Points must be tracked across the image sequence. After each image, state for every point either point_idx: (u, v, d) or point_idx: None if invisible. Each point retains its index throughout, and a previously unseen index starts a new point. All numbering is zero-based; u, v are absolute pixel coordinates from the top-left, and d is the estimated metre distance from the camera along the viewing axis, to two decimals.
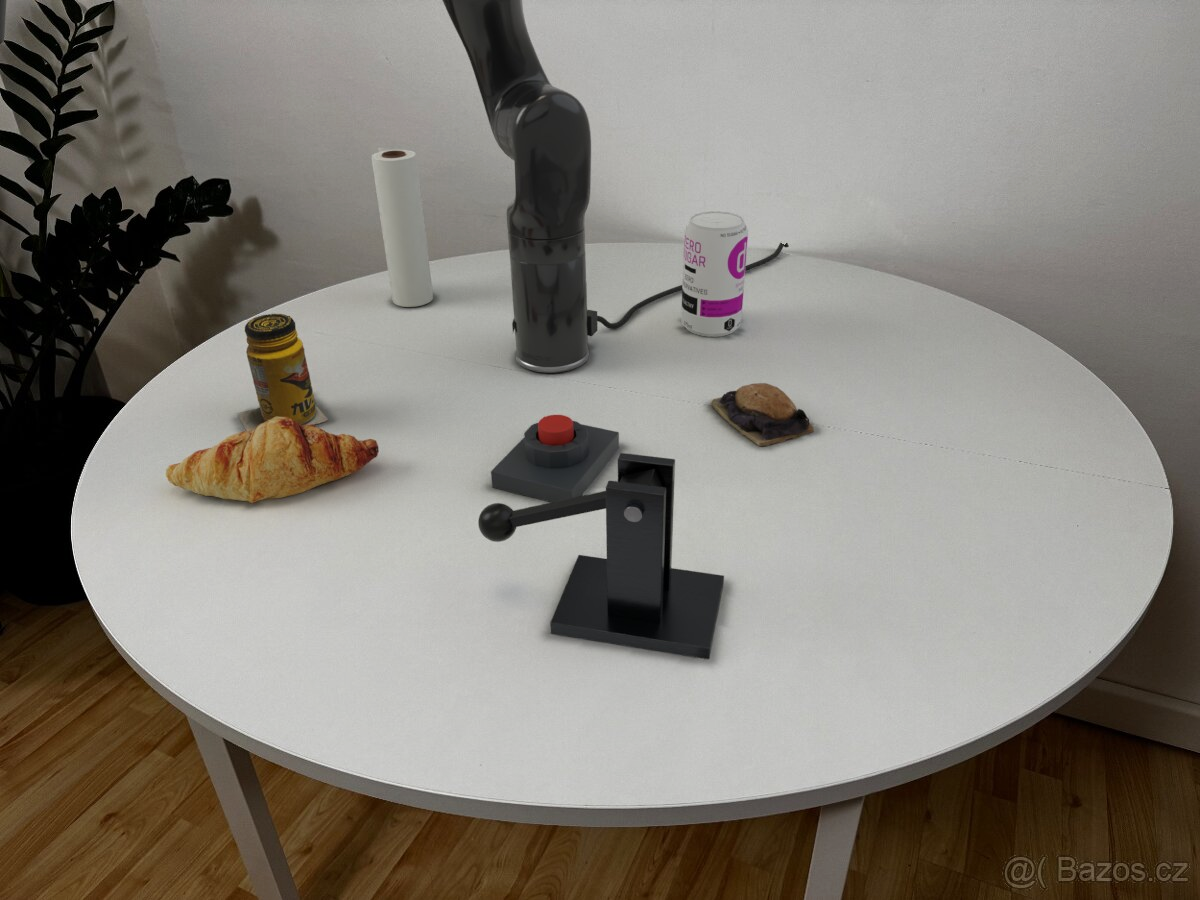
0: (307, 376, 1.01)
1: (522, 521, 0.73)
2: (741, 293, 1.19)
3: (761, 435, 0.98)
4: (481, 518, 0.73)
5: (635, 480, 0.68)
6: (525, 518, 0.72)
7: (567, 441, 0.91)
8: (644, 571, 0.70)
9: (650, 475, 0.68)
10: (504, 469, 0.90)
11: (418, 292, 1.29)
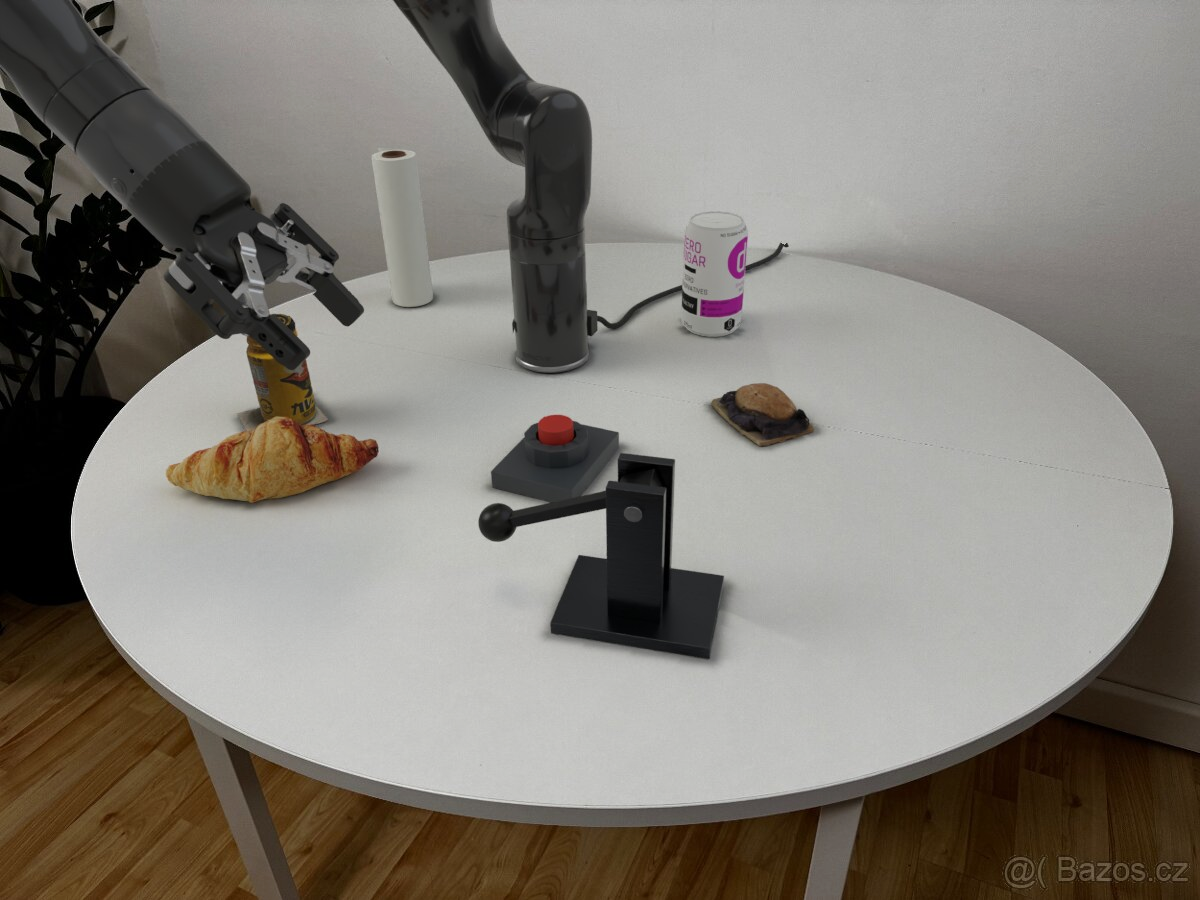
0: (307, 376, 1.01)
1: (522, 521, 0.73)
2: (741, 293, 1.19)
3: (761, 435, 0.98)
4: (481, 518, 0.73)
5: (635, 480, 0.68)
6: (525, 518, 0.72)
7: (567, 441, 0.91)
8: (644, 571, 0.70)
9: (650, 475, 0.68)
10: (504, 469, 0.90)
11: (418, 292, 1.29)
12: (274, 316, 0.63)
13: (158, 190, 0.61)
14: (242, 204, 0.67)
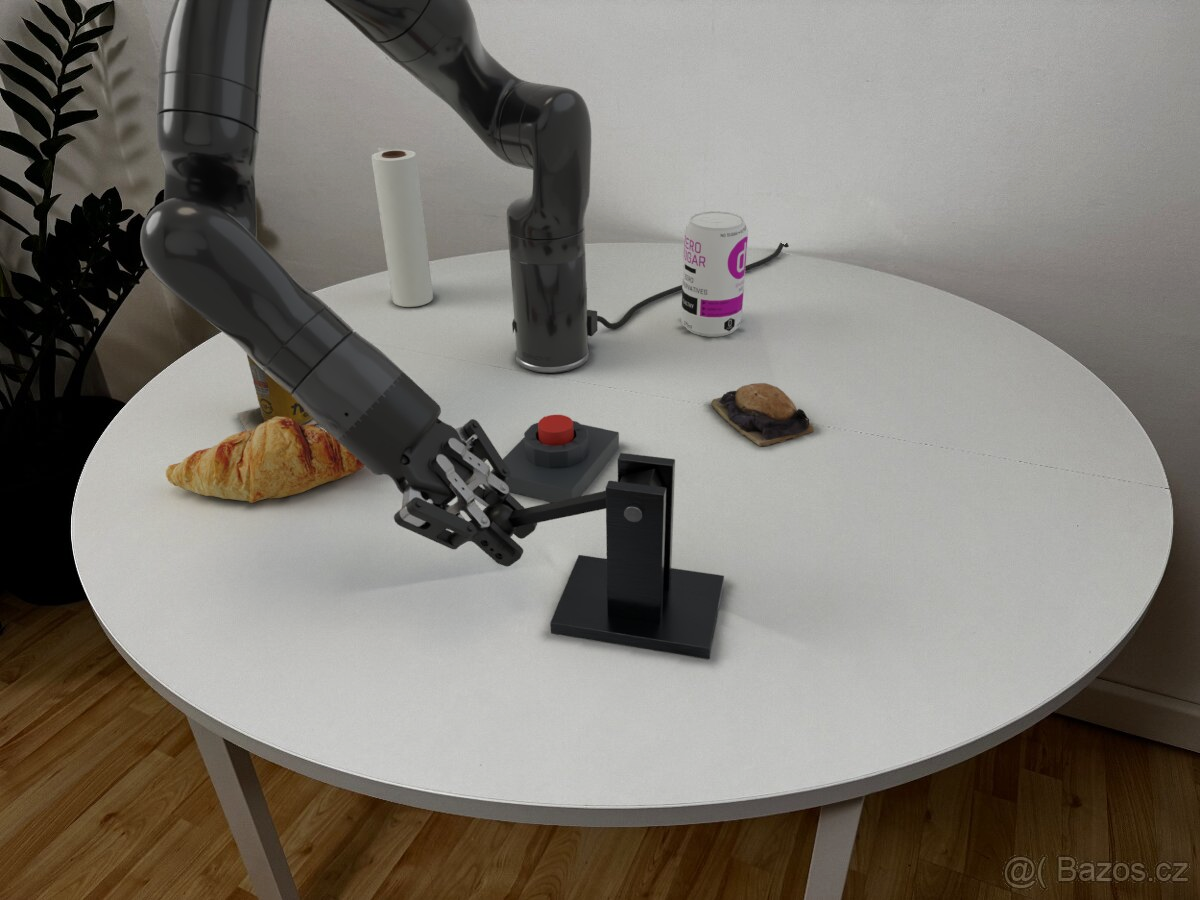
0: None
1: (522, 521, 0.73)
2: (741, 293, 1.19)
3: (761, 435, 0.98)
4: None
5: (635, 480, 0.68)
6: (525, 518, 0.72)
7: (567, 441, 0.91)
8: (644, 571, 0.70)
9: (650, 475, 0.68)
10: None
11: (418, 292, 1.29)
12: (493, 523, 0.72)
13: (369, 429, 0.68)
14: None
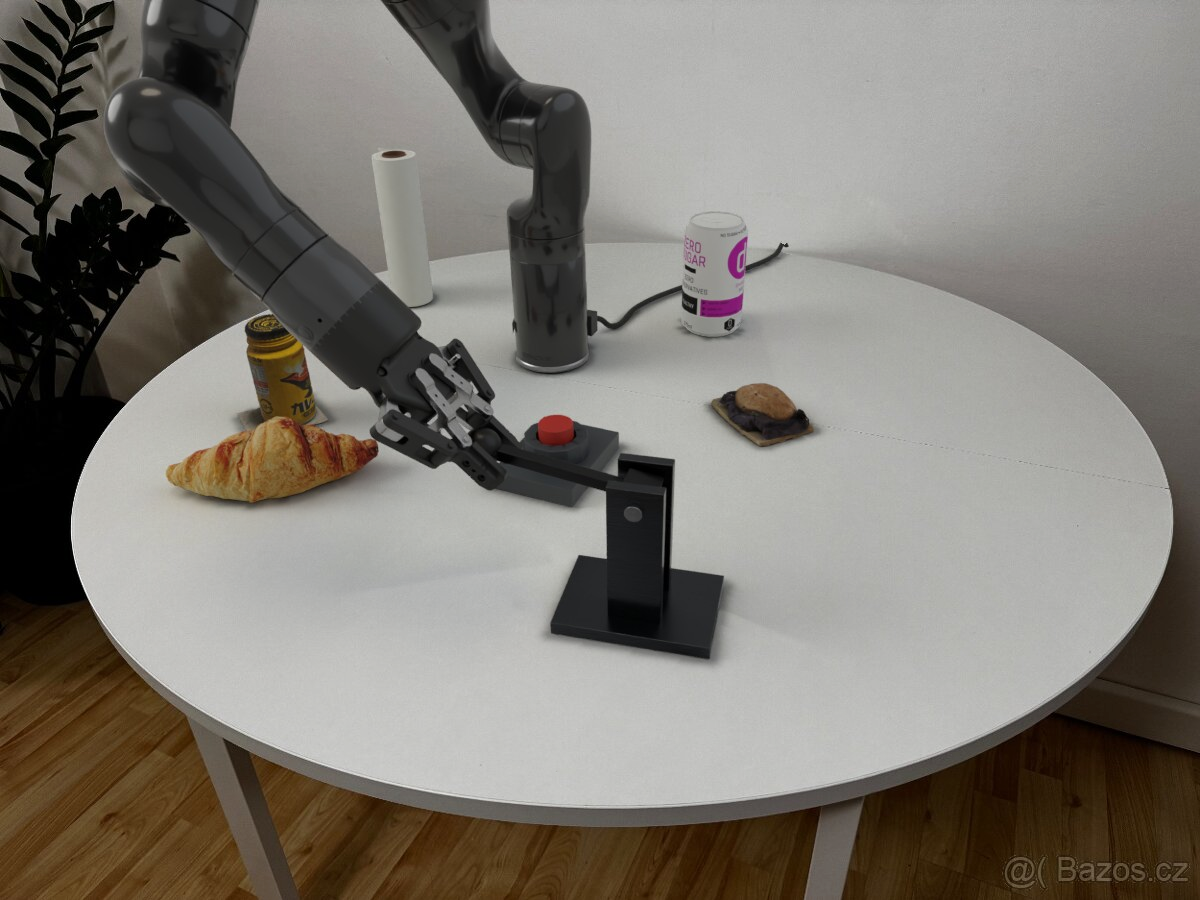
0: (307, 376, 1.01)
1: (510, 460, 0.70)
2: (741, 293, 1.19)
3: (761, 435, 0.98)
4: (471, 438, 0.69)
5: (644, 480, 0.68)
6: (515, 459, 0.69)
7: (567, 441, 0.91)
8: (644, 571, 0.70)
9: (659, 483, 0.68)
10: None
11: (418, 292, 1.29)
12: (475, 443, 0.68)
13: (344, 337, 0.64)
14: (412, 336, 0.69)
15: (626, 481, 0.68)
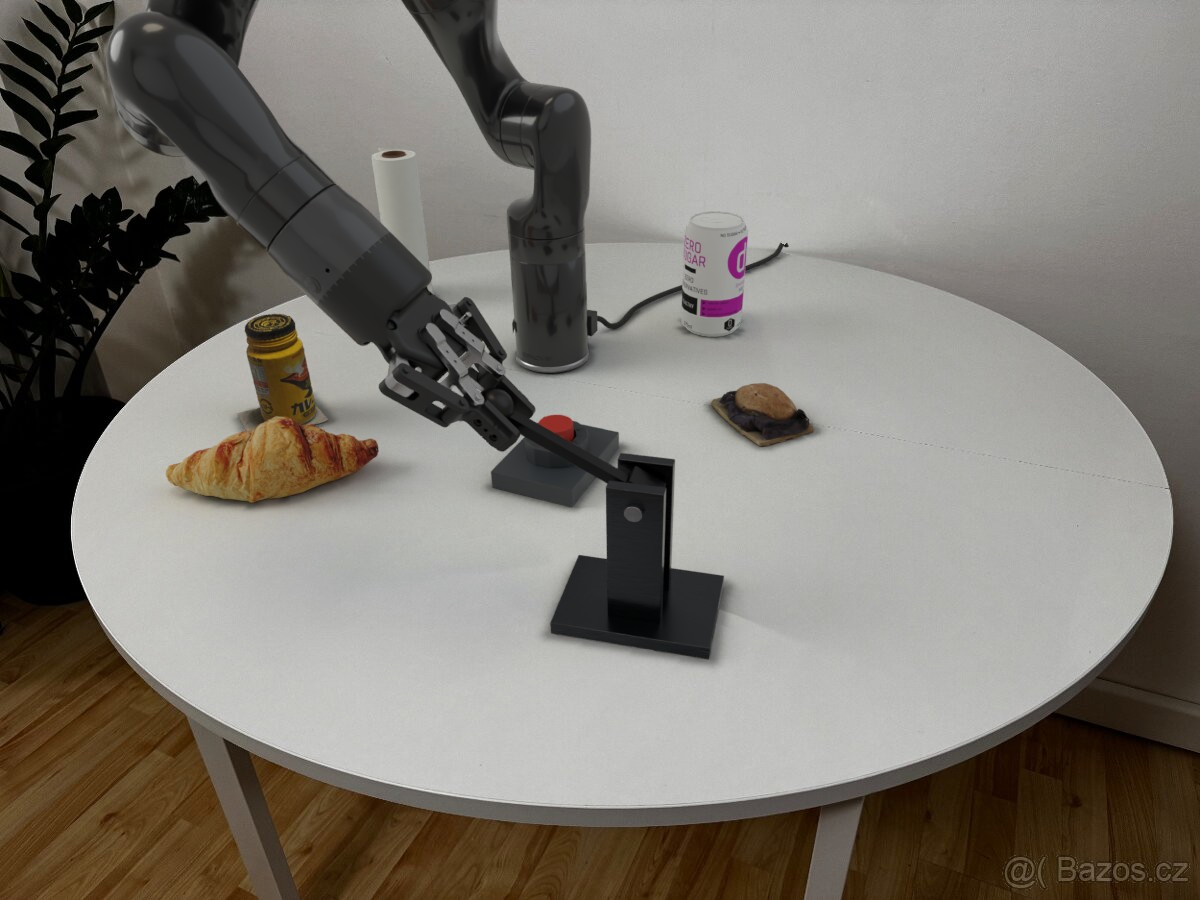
0: (307, 376, 1.01)
1: (519, 429, 0.68)
2: (741, 293, 1.19)
3: (761, 435, 0.98)
4: (487, 398, 0.67)
5: (648, 482, 0.68)
6: (525, 429, 0.68)
7: None
8: (644, 571, 0.70)
9: None
10: (504, 469, 0.90)
11: None
12: (487, 402, 0.66)
13: (353, 288, 0.61)
14: (422, 291, 0.67)
15: (632, 479, 0.67)
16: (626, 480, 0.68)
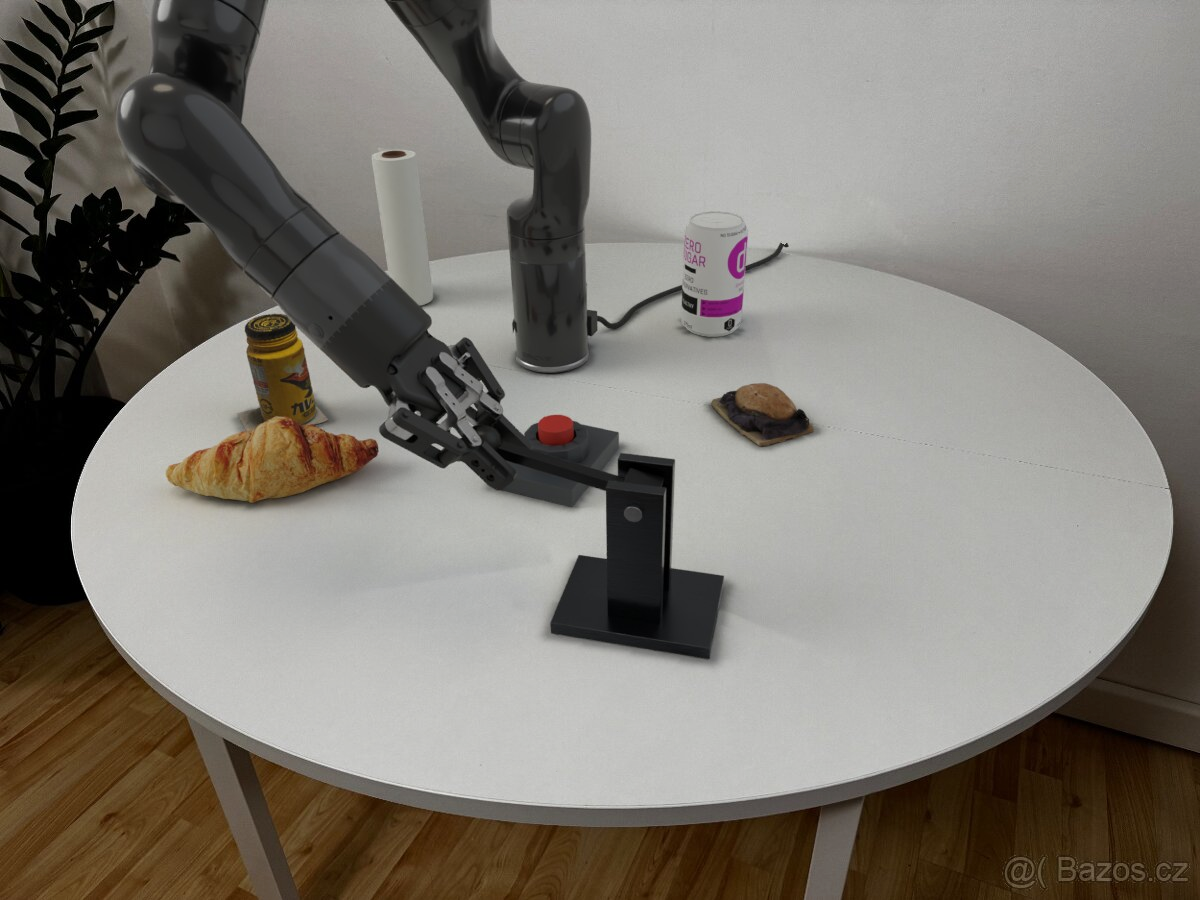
0: (307, 376, 1.01)
1: (510, 457, 0.69)
2: (741, 293, 1.19)
3: (761, 435, 0.98)
4: None
5: (644, 480, 0.68)
6: (515, 456, 0.69)
7: (567, 441, 0.91)
8: (644, 571, 0.70)
9: (659, 483, 0.68)
10: None
11: (418, 292, 1.29)
12: (485, 443, 0.68)
13: (355, 335, 0.63)
14: (423, 334, 0.69)
15: (626, 481, 0.68)
16: None
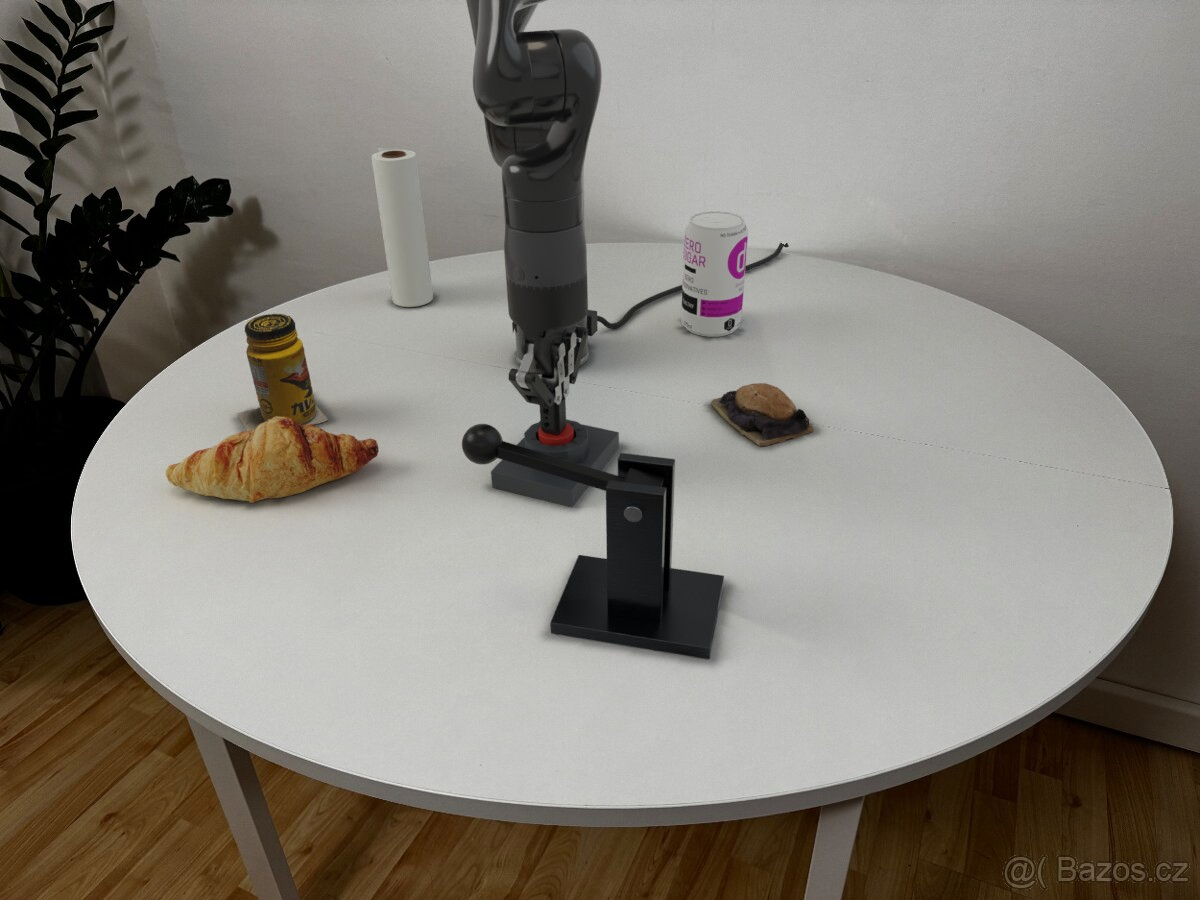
0: (307, 376, 1.01)
1: (510, 457, 0.69)
2: (741, 293, 1.19)
3: (761, 435, 0.98)
4: (472, 435, 0.69)
5: (644, 480, 0.68)
6: (515, 456, 0.69)
7: None
8: (644, 571, 0.70)
9: (659, 483, 0.68)
10: (504, 469, 0.90)
11: (418, 292, 1.29)
12: (561, 403, 0.89)
13: (541, 299, 0.80)
14: None
15: (626, 481, 0.68)
16: None
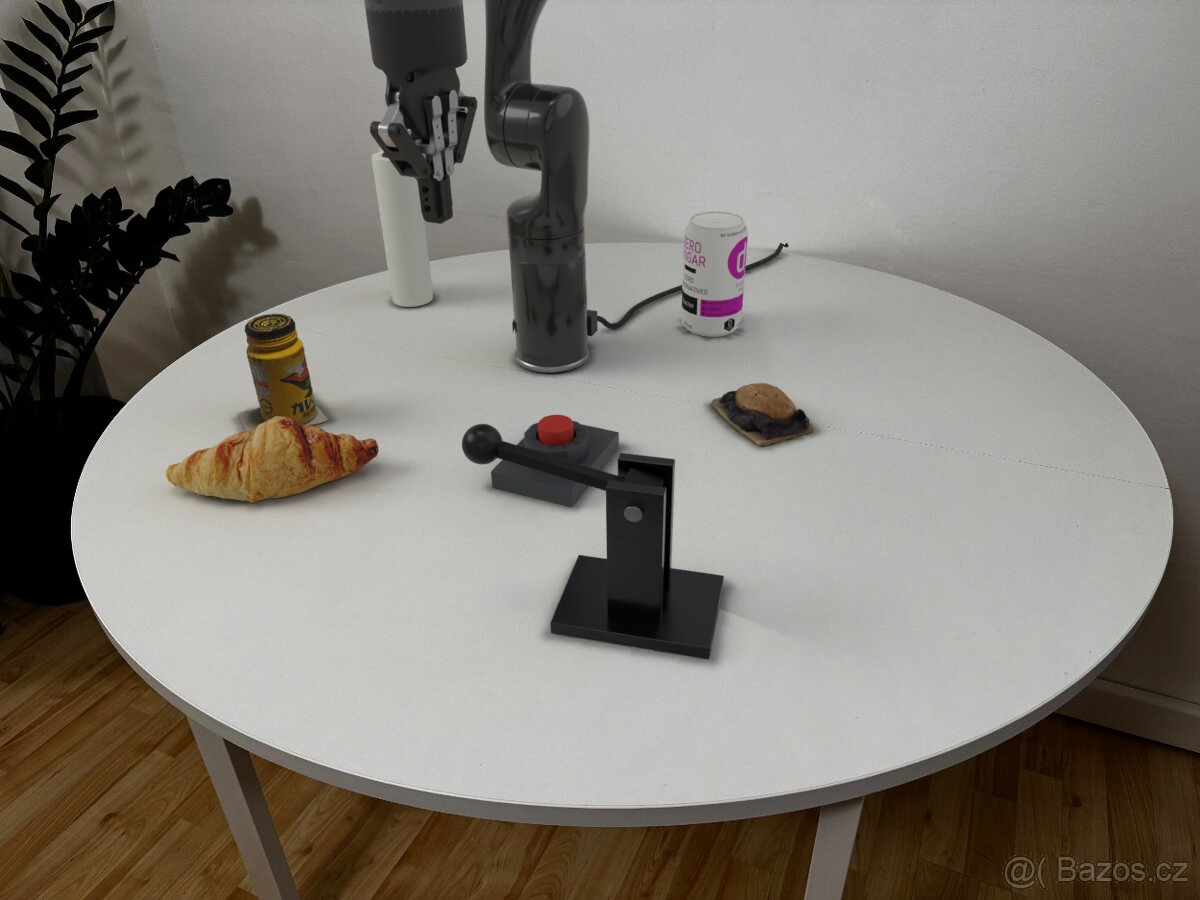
0: (307, 376, 1.01)
1: (510, 457, 0.69)
2: (741, 293, 1.19)
3: (761, 435, 0.98)
4: (472, 435, 0.69)
5: (644, 480, 0.68)
6: (515, 456, 0.69)
7: (567, 441, 0.91)
8: (644, 571, 0.70)
9: (659, 483, 0.68)
10: (504, 469, 0.90)
11: (418, 292, 1.29)
12: (443, 181, 0.76)
13: (404, 27, 0.67)
14: None
15: (626, 481, 0.68)
16: None
